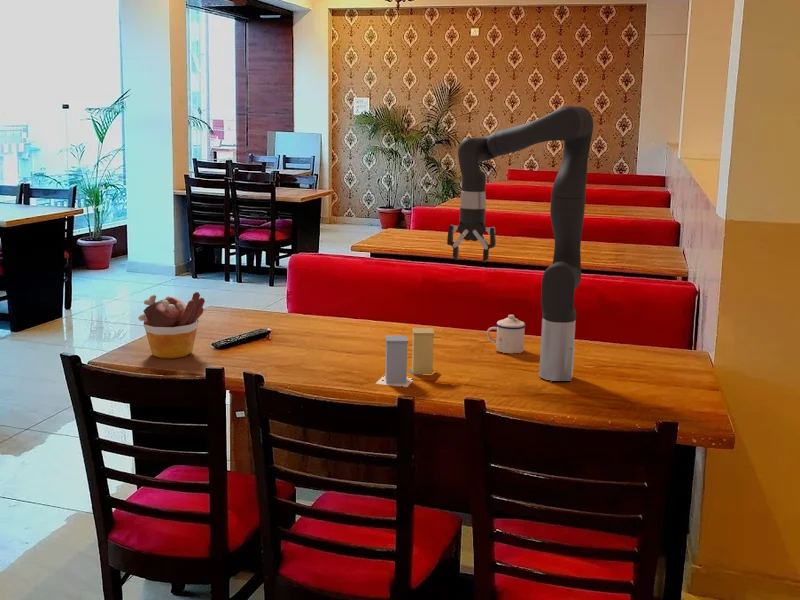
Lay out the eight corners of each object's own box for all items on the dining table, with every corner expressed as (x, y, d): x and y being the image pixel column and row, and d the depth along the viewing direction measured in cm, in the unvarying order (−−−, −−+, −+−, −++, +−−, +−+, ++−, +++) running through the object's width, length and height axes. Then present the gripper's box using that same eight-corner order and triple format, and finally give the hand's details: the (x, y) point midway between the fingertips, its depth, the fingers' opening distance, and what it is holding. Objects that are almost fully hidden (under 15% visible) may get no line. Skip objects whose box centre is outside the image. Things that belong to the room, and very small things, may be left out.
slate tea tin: (405, 377, 232) (406, 335, 230) (407, 383, 226) (408, 340, 224) (384, 377, 232) (385, 335, 229) (385, 383, 226) (386, 340, 223)
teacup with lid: (525, 348, 266) (527, 313, 263) (522, 355, 257) (524, 319, 255) (488, 345, 269) (489, 310, 266) (484, 352, 260) (485, 316, 257)
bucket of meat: (128, 357, 246) (125, 292, 242) (161, 344, 262) (158, 282, 257) (187, 365, 240) (185, 298, 236) (217, 350, 256) (215, 287, 251)
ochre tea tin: (431, 368, 241) (432, 328, 238) (432, 374, 235) (434, 333, 232) (411, 368, 240) (412, 327, 238) (412, 374, 235) (413, 333, 232)
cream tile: (415, 378, 232) (415, 377, 232) (407, 388, 224) (407, 387, 224) (384, 375, 235) (384, 374, 234) (375, 384, 226) (375, 383, 226)
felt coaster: (439, 370, 240) (439, 368, 240) (432, 378, 233) (432, 376, 233) (412, 367, 243) (412, 366, 242) (405, 375, 235) (405, 373, 235)
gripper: (446, 206, 243) (444, 261, 246) (494, 208, 239) (492, 264, 242) (451, 204, 250) (450, 257, 253) (498, 206, 246) (496, 260, 250)
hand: (470, 260), depth 248 cm, fingers open, 8 cm apart
